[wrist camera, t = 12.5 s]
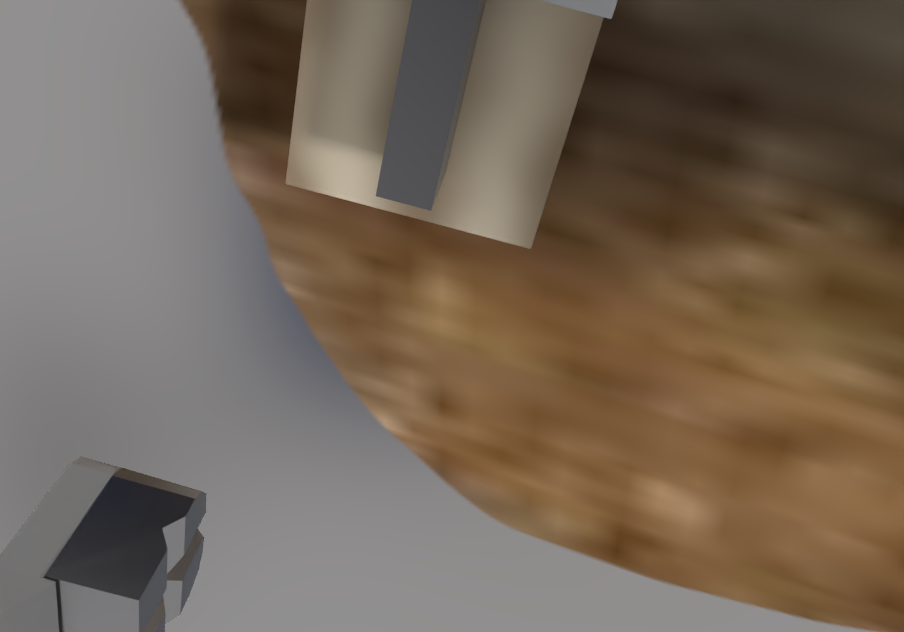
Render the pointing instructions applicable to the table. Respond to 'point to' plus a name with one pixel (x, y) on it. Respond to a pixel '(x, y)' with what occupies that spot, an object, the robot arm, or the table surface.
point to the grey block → (436, 94)
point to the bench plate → (480, 119)
